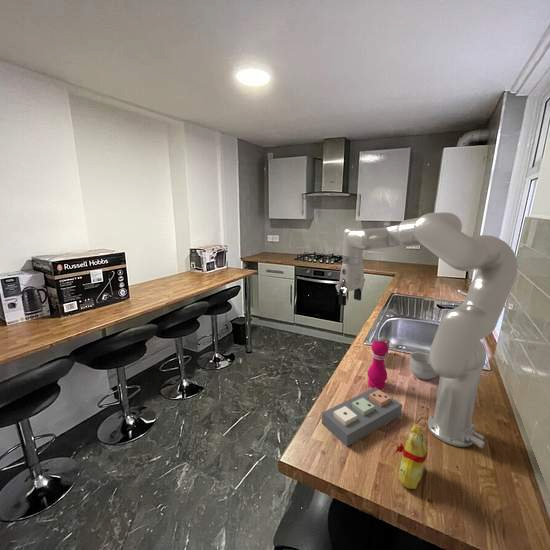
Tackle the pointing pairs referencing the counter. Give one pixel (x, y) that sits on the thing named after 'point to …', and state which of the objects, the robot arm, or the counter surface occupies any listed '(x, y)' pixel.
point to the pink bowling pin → (378, 365)
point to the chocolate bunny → (412, 458)
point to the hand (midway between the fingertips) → (349, 302)
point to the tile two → (363, 407)
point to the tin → (386, 343)
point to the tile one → (345, 416)
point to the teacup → (421, 366)
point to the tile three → (379, 398)
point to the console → (360, 419)
